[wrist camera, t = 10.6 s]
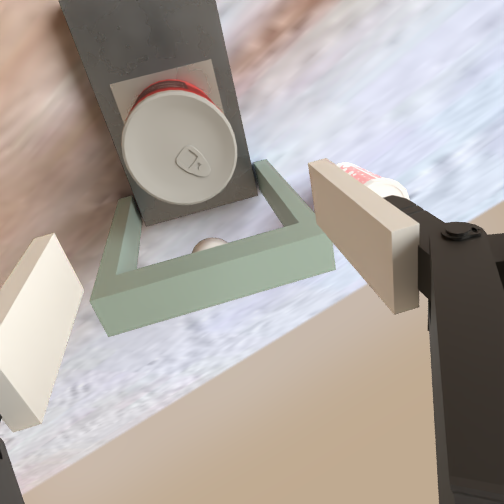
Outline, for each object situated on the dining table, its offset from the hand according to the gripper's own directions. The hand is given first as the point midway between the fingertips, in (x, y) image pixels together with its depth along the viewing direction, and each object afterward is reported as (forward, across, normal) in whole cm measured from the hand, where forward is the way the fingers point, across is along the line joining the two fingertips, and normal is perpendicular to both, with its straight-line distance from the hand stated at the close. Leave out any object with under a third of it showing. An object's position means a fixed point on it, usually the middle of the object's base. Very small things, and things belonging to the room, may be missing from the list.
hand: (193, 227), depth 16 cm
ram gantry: (+25, 0, -7) cm, 27 cm away
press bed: (+26, 0, +1) cm, 26 cm away
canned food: (+24, 0, 0) cm, 24 cm away
